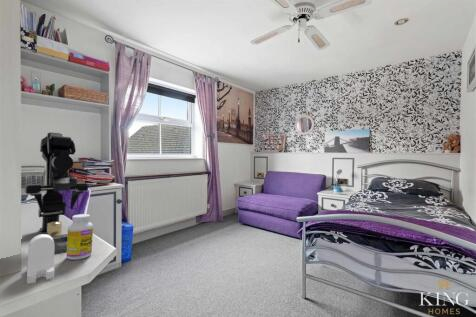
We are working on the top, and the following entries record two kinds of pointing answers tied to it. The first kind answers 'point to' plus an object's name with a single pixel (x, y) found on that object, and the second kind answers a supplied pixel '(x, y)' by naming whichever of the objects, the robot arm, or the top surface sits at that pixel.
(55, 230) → the gold rounded cylinder
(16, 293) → the top surface
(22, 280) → the top surface
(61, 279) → the top surface
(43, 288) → the top surface
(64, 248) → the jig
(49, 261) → the cable organizer
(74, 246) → the supplement bottle
